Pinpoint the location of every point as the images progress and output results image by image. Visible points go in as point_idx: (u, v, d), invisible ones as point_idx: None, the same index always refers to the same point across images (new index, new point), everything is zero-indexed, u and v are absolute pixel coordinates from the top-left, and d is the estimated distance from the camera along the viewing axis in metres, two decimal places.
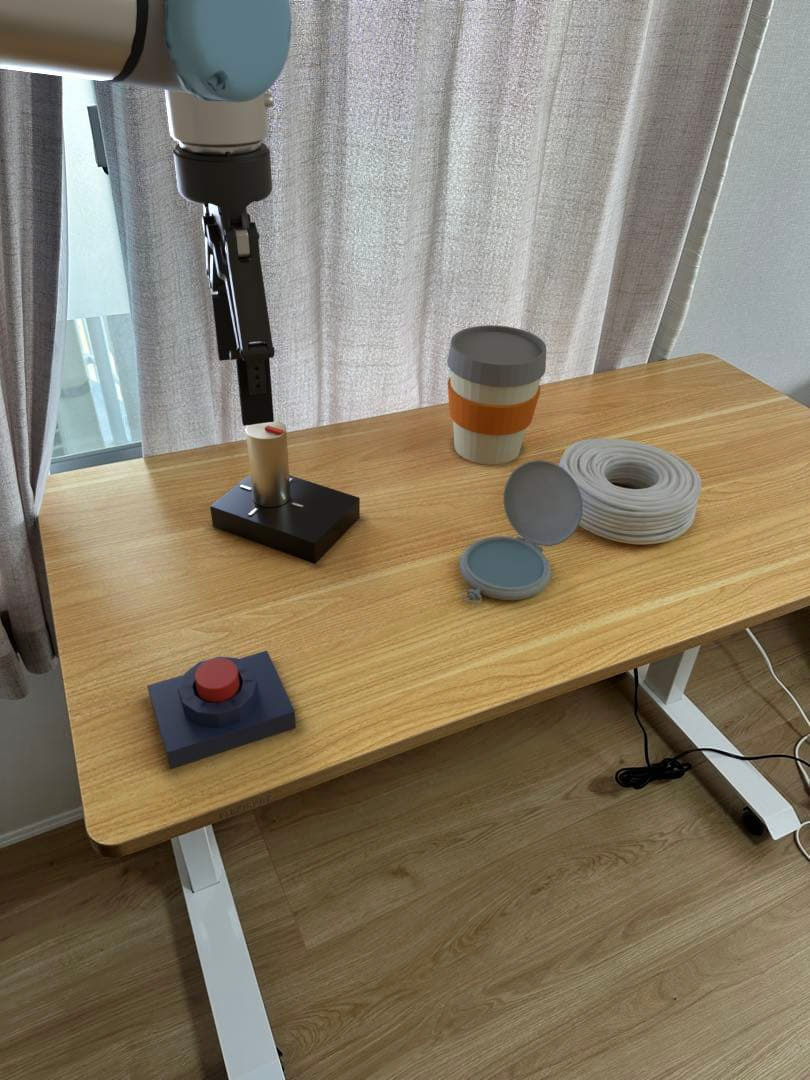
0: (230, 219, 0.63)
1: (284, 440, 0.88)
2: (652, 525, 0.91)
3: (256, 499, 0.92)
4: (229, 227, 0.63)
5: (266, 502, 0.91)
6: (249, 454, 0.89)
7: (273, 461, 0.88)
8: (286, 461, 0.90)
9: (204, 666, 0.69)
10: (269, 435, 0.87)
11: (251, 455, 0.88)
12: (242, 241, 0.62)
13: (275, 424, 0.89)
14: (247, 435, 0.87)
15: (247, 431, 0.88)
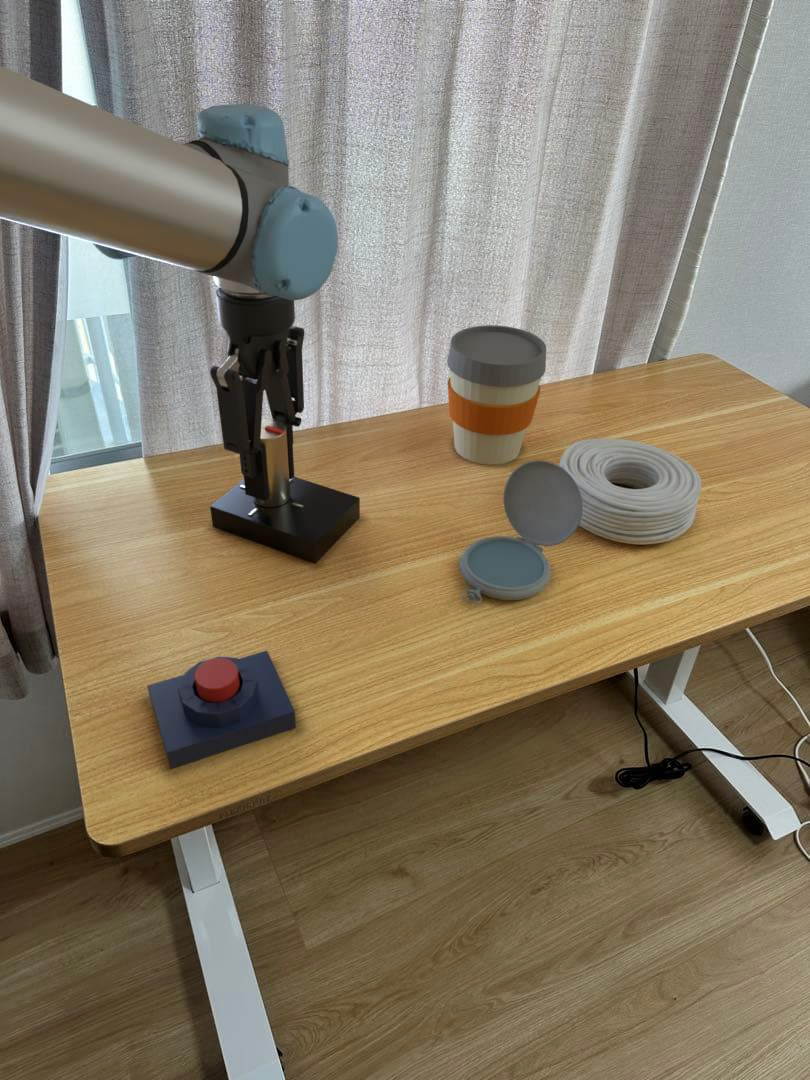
0: (233, 344, 0.79)
1: (284, 440, 0.88)
2: (652, 525, 0.91)
3: (256, 499, 0.92)
4: (229, 355, 0.79)
5: (266, 502, 0.91)
6: None
7: (273, 461, 0.88)
8: (286, 461, 0.90)
9: (204, 666, 0.69)
10: (269, 435, 0.87)
11: None
12: (221, 379, 0.78)
13: (275, 424, 0.89)
14: None
15: None
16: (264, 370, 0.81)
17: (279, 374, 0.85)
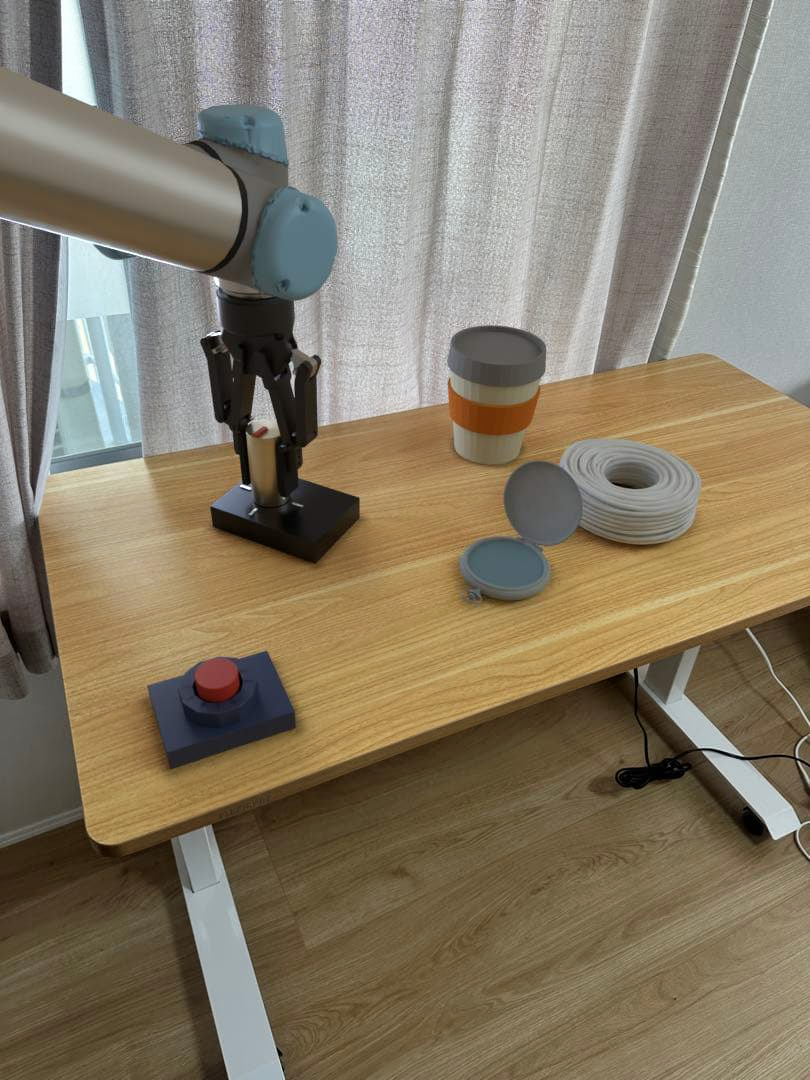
0: None
1: (257, 445, 0.87)
2: (652, 525, 0.91)
3: None
4: None
5: None
6: None
7: (248, 455, 0.89)
8: (260, 468, 0.89)
9: (204, 666, 0.69)
10: (253, 430, 0.88)
11: None
12: None
13: (274, 433, 0.88)
14: None
15: (261, 420, 0.90)
16: (236, 362, 0.83)
17: None
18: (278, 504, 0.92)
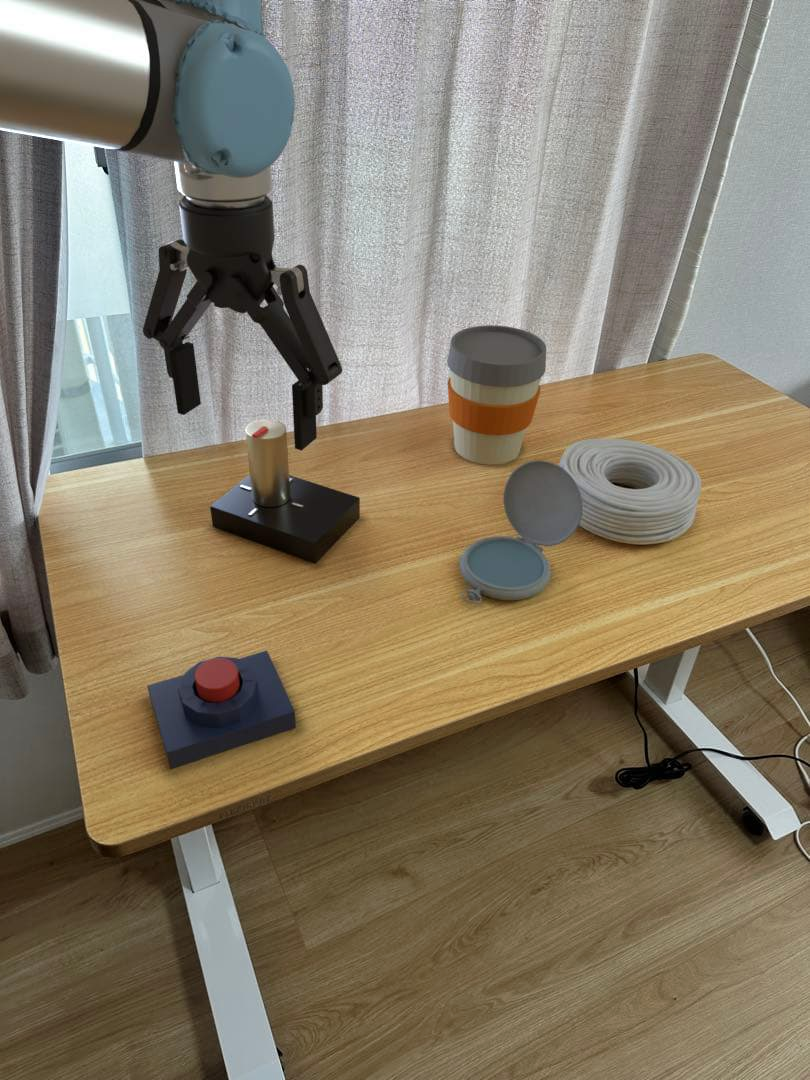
0: None
1: (256, 445, 0.87)
2: (652, 525, 0.91)
3: None
4: None
5: None
6: None
7: (248, 455, 0.89)
8: (260, 468, 0.89)
9: (204, 666, 0.69)
10: (253, 430, 0.88)
11: None
12: None
13: (274, 433, 0.88)
14: None
15: (262, 420, 0.90)
16: (205, 292, 0.70)
17: None
18: (278, 504, 0.92)
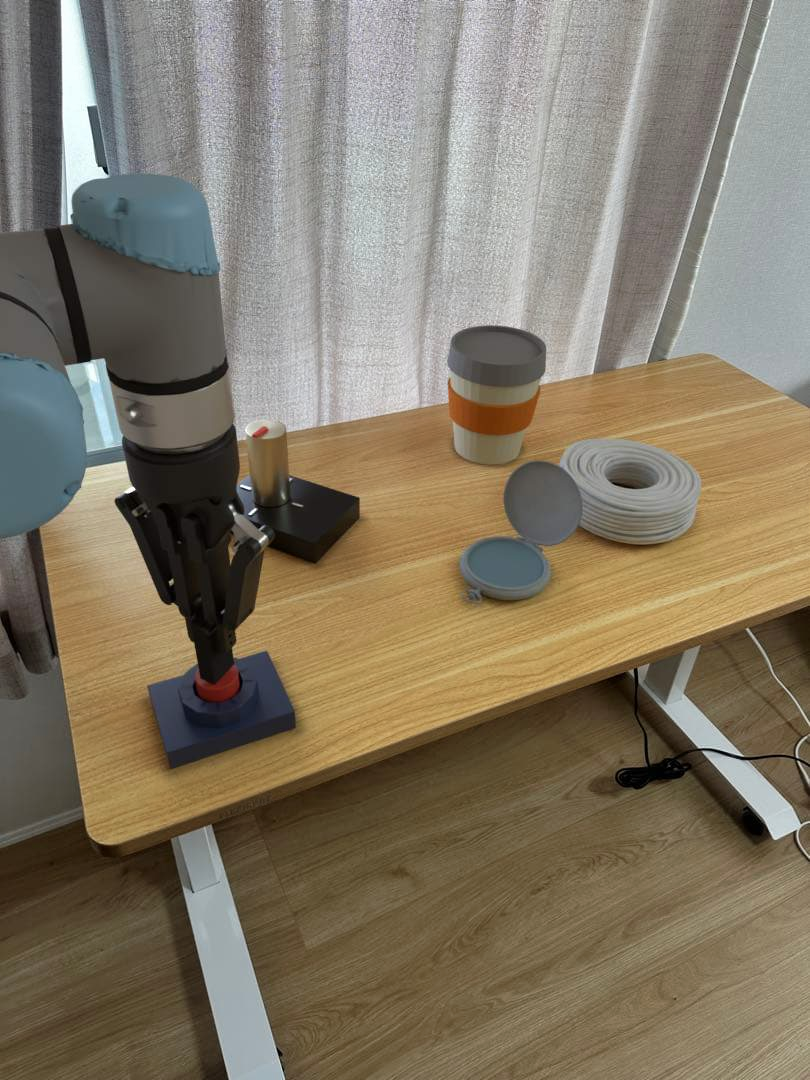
0: None
1: (256, 445, 0.87)
2: (652, 525, 0.91)
3: None
4: None
5: None
6: None
7: (248, 455, 0.89)
8: (260, 468, 0.89)
9: None
10: (253, 430, 0.88)
11: None
12: None
13: (274, 433, 0.88)
14: None
15: (262, 420, 0.90)
16: (159, 527, 0.58)
17: None
18: (278, 504, 0.92)
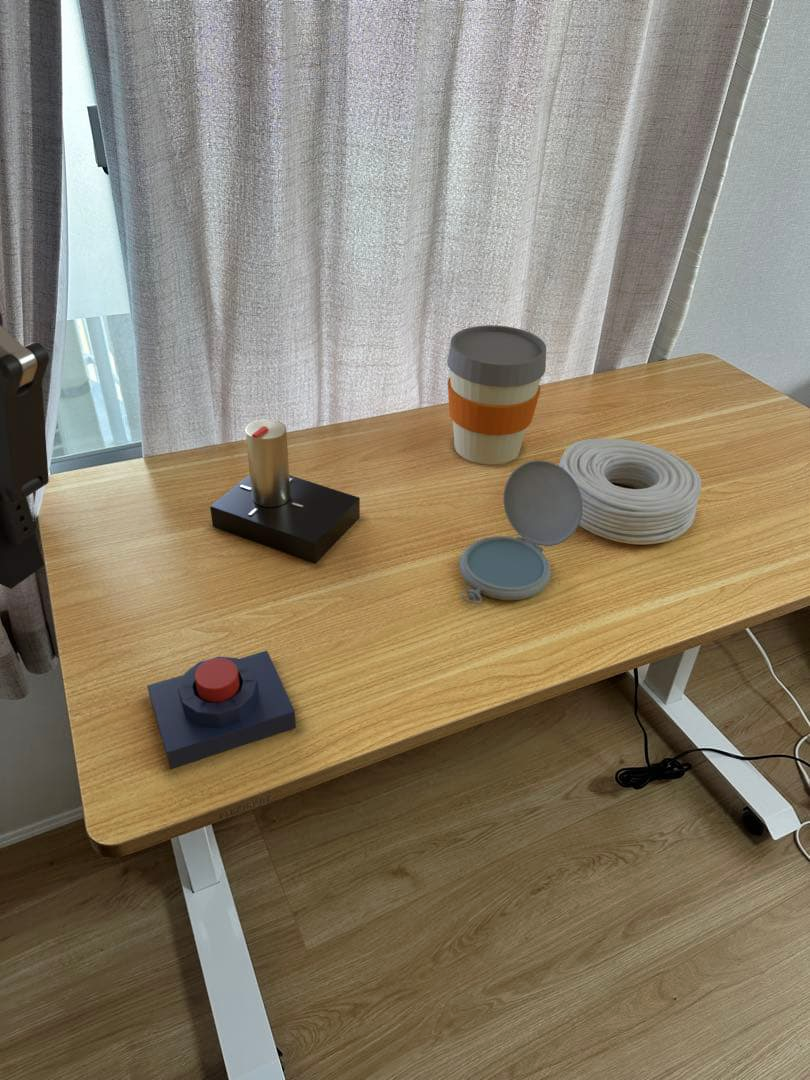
0: None
1: (256, 445, 0.87)
2: (652, 525, 0.91)
3: None
4: None
5: None
6: None
7: (248, 455, 0.89)
8: (260, 468, 0.89)
9: (204, 666, 0.69)
10: (253, 430, 0.88)
11: None
12: None
13: (274, 433, 0.88)
14: None
15: (262, 420, 0.90)
16: None
17: None
18: (278, 504, 0.92)
